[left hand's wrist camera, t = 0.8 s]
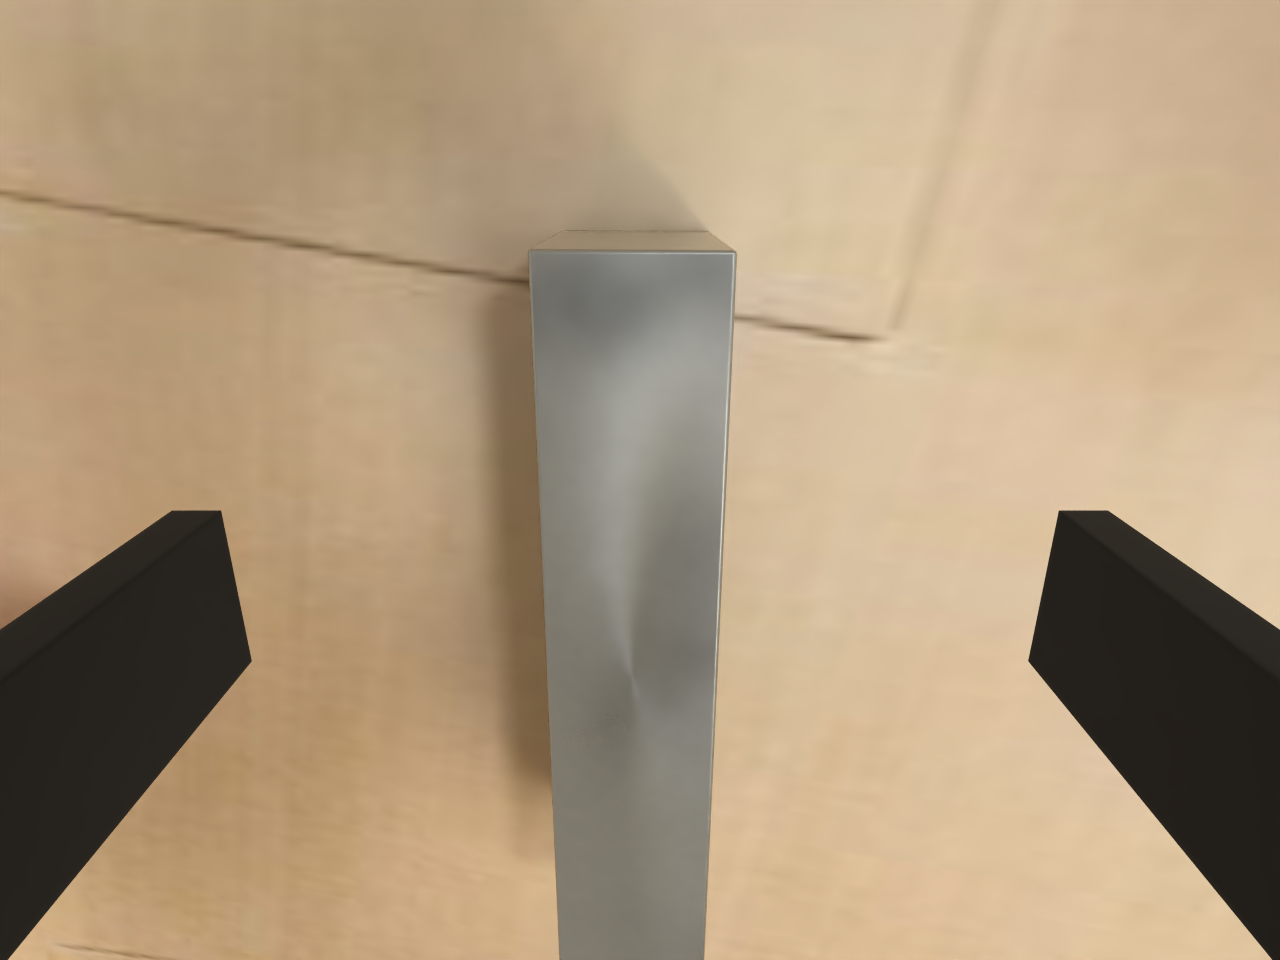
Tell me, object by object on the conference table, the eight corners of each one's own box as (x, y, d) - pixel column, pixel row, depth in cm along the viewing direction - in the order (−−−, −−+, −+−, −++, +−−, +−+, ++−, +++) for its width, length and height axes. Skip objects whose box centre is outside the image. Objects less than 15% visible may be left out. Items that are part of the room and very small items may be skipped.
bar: (560, 230, 26) (527, 249, 19) (710, 231, 26) (737, 250, 19) (577, 801, 35) (559, 968, 28) (691, 801, 35) (703, 969, 28)
